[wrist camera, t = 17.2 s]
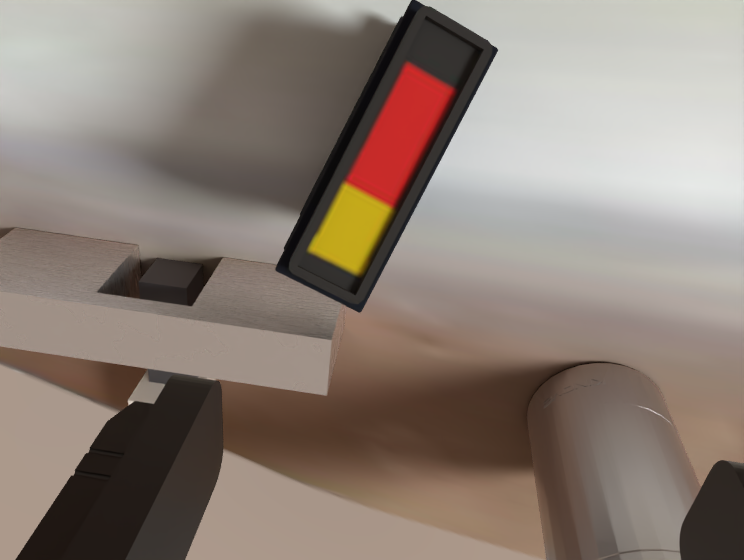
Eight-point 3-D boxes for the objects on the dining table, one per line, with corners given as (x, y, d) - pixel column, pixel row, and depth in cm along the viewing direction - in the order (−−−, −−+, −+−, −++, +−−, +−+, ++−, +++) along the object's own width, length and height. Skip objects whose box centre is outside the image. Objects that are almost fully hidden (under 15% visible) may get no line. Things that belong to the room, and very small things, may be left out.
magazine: (285, 241, 38) (272, 274, 24) (388, 39, 37) (441, -59, 23) (341, 269, 39) (363, 319, 24) (443, 71, 38) (532, -4, 23)
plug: (148, 256, 42) (114, 297, 38) (211, 265, 42) (184, 307, 38) (162, 403, 49) (134, 452, 44) (216, 411, 48) (194, 461, 44)
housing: (15, 227, 42) (-58, 282, 36) (349, 275, 41) (331, 340, 35) (26, 279, 44) (-41, 340, 38) (344, 326, 43) (326, 395, 37)
